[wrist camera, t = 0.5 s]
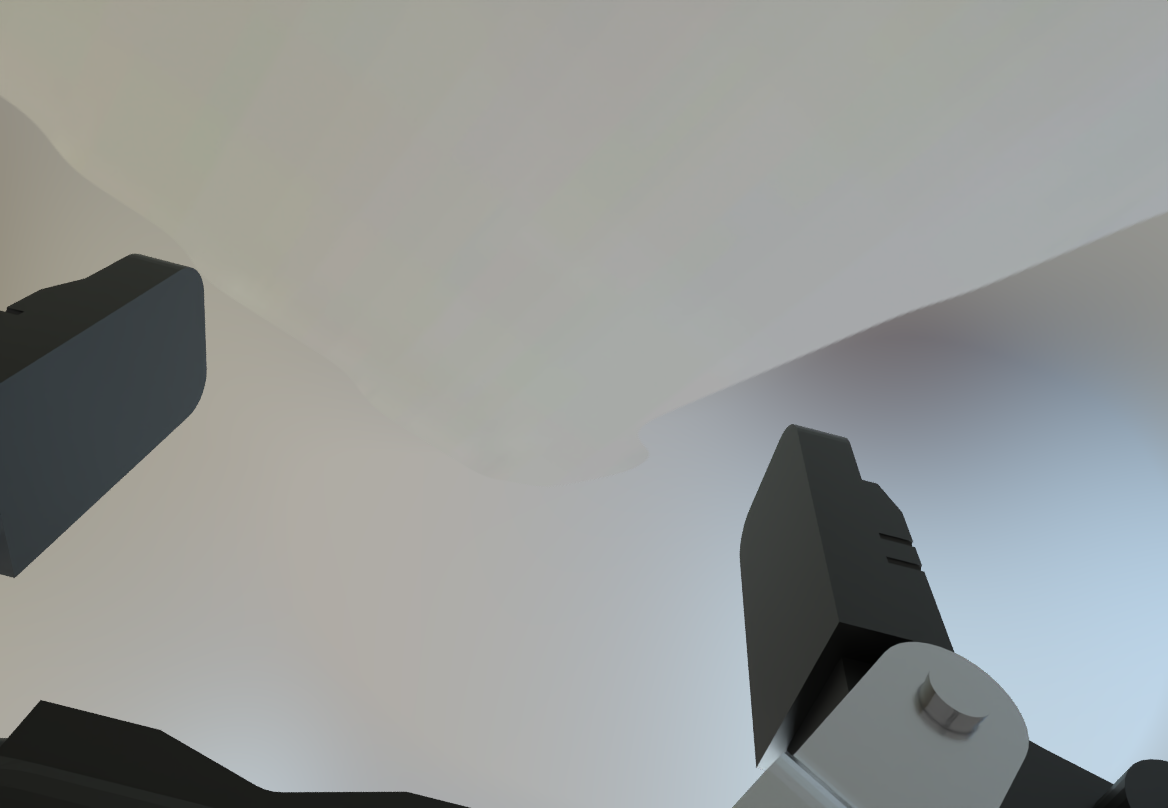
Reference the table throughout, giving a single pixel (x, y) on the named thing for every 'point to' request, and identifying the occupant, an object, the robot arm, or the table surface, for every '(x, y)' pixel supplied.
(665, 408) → the table surface
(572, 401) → the table surface
